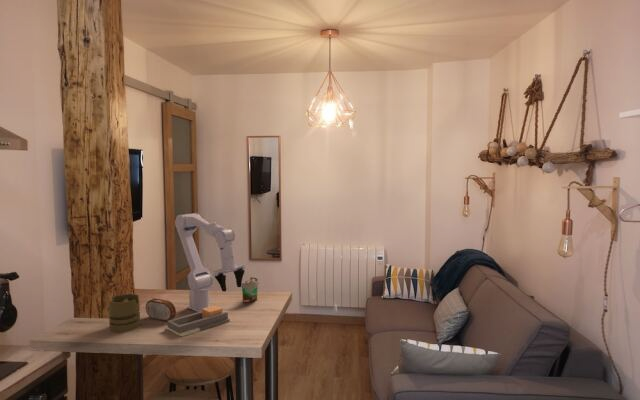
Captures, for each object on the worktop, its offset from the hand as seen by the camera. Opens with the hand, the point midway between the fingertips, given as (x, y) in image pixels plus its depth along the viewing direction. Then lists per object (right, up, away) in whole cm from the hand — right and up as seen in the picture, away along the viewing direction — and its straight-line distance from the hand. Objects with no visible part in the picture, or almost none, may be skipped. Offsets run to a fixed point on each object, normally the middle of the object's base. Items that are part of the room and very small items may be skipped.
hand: (231, 289), depth 181 cm
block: (-8, -12, -3) cm, 14 cm away
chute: (-12, -13, -7) cm, 19 cm away
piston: (-42, -14, -9) cm, 45 cm away
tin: (-30, -13, 0) cm, 33 cm away
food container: (+5, -11, +24) cm, 27 cm away
